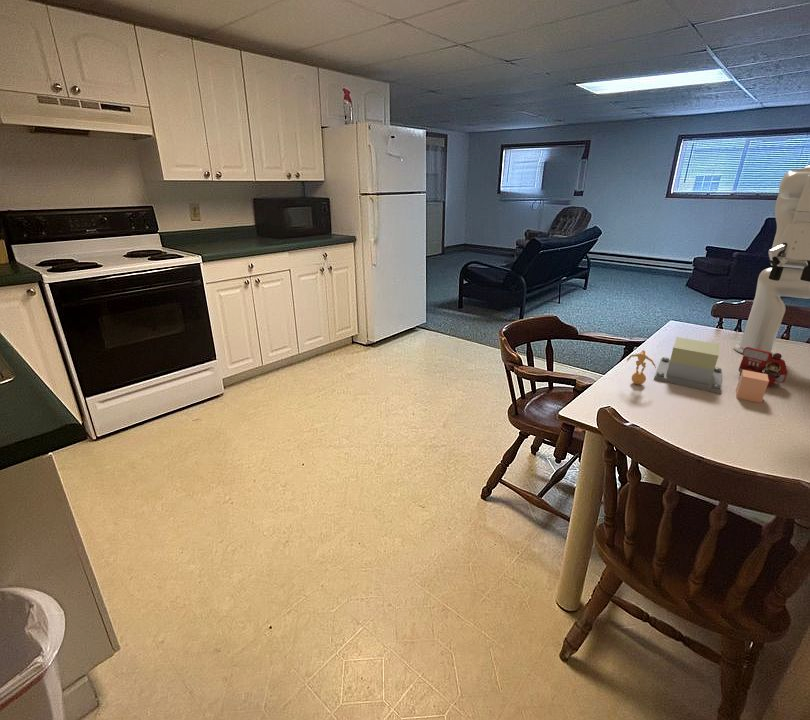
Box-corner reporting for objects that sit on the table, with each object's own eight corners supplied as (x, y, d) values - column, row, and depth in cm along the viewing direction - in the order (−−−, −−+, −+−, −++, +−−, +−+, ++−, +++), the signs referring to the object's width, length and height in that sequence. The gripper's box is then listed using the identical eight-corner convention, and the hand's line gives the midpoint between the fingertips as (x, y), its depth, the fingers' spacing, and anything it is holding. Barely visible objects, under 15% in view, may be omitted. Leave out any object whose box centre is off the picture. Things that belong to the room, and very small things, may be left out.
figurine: (653, 385, 138) (662, 350, 133) (647, 392, 134) (656, 355, 129) (625, 378, 143) (633, 343, 138) (619, 384, 139) (627, 348, 134)
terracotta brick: (735, 390, 136) (742, 369, 133) (759, 395, 132) (767, 374, 130) (736, 397, 131) (743, 376, 128) (761, 403, 128) (768, 381, 125)
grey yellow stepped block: (660, 361, 156) (667, 332, 152) (720, 373, 147) (730, 343, 143) (653, 379, 142) (661, 348, 138) (720, 393, 133) (730, 361, 129)
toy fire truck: (779, 390, 135) (791, 359, 131) (732, 378, 144) (741, 348, 140) (784, 384, 140) (795, 354, 136) (738, 372, 148) (747, 343, 144)
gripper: (827, 219, 126) (806, 278, 132) (769, 217, 125) (751, 277, 131) (853, 220, 119) (829, 283, 125) (792, 218, 118) (771, 282, 124)
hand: (789, 280), depth 128 cm, fingers open, 9 cm apart
